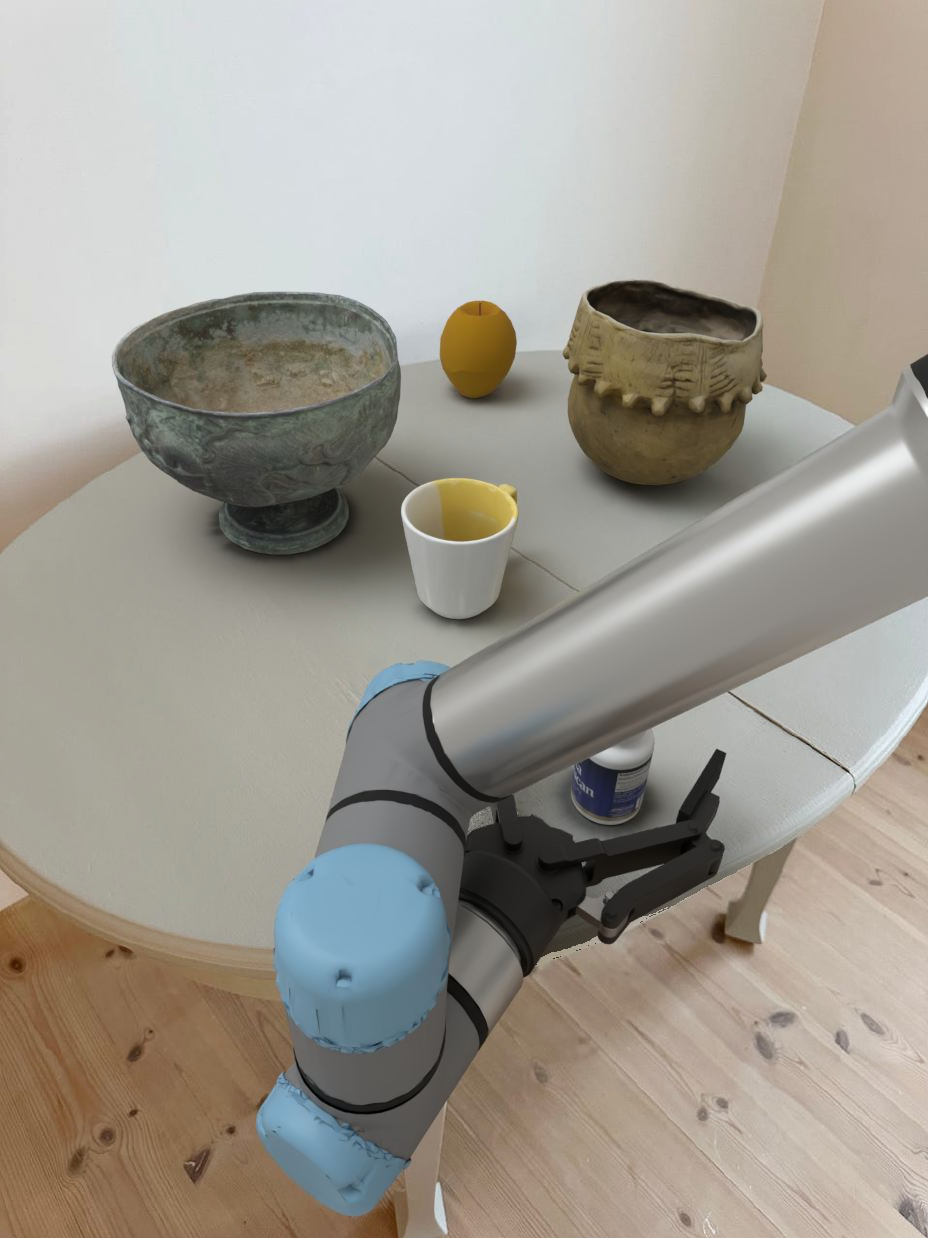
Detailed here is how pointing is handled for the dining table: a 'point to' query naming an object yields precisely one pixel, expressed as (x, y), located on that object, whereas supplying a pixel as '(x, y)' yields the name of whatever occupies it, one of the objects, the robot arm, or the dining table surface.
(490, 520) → the mug
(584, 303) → the clay pot
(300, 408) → the decorative bowl
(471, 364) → the apple
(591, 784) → the pill bottle
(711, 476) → the dining table surface
